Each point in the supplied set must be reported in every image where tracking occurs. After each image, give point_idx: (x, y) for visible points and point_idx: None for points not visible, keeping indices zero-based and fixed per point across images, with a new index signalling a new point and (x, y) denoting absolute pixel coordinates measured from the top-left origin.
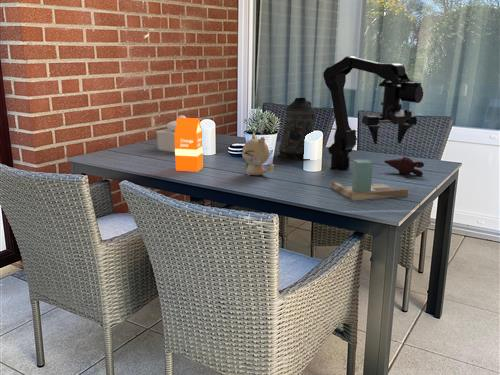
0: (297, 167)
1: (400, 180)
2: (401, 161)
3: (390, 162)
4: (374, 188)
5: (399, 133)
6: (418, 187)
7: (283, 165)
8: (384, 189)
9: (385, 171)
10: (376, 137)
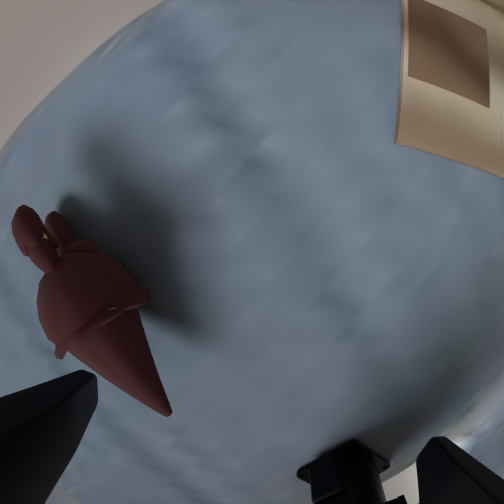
0: None
1: (224, 177)
2: (112, 312)
3: (153, 378)
4: (485, 94)
5: (23, 494)
6: (235, 20)
7: None
8: (454, 54)
9: (178, 371)
10: (492, 485)
